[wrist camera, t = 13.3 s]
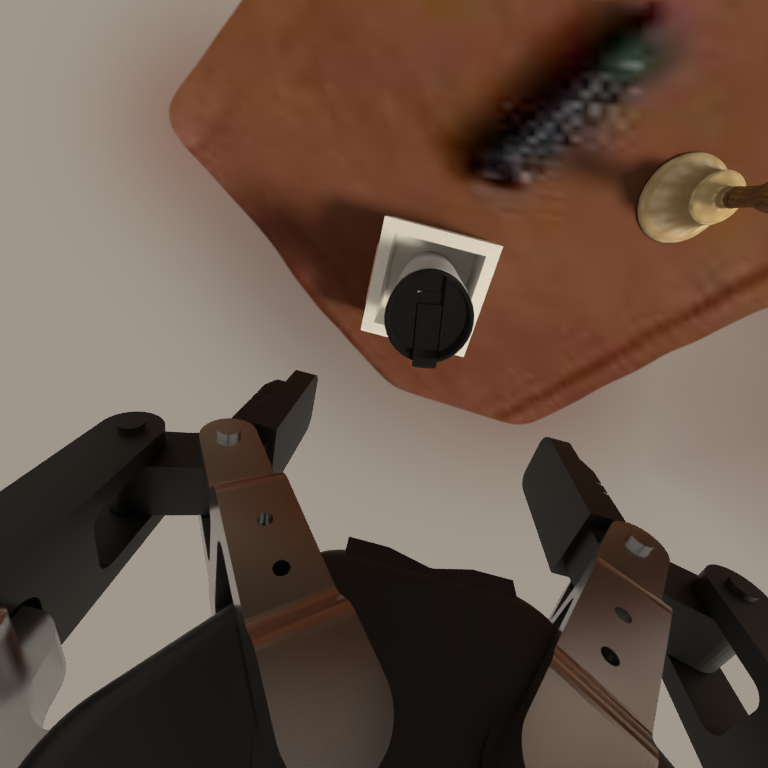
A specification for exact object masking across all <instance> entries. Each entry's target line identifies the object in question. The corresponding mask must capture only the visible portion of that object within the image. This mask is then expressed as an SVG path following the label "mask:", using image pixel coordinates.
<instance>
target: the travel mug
mask: <svg viewBox="0 0 768 768" xmlns="http://www.w3.org/2000/svg"><path fill="white" fill-rule="evenodd" d="M473 324H474V309H473V304H472V302H471V299H470V296H469V294H468V292H467V289H466V288H465V286H464V284H463V282H462V281H461V279H460V277H459V275H458V274H457V272H456V270H455V268H454V267H453V265H452V263H451V262H450V260H449V259H448V258H447V257H445V256H444V255H442V254H440V253H438V252H433V251H426V252H422V253H419V254H417V255H415V256H414V257H413V258H411V259H410V260H409V261H408V263H407V264H406V266H405V268H404V269H403V271H402V273H401V275H400V277H399V279H398V281H397V282H396V284H395V286H394V288H393V290H392V292H391V294H390V297H389V299H388V302H387V305H386V308H385V314H384V325H385V329H386V333H387V336H388V338H389V340H390V342H391V343H392V345H393V346H394V347H395V349H396V350H397V351H399V352H400V353H401V354H402V355H404V356H405V357H407V358H409V359H411V360H413V362H412V366H414V367H419V368H436V362H439V361H443V360H445V359H448V358H450V357H451V356H453V355H454V354H456V353H457V352H458V351H459V350H460V349H461V348H462V347H463V346H464V345H465V343H466V342H467V341H468V339H469V337H470V334H471V332H472V329H473Z"/></svg>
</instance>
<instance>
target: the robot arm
mask: <svg viewBox="0 0 768 768" xmlns="http://www.w3.org/2000/svg"><path fill="white" fill-rule="evenodd" d="M317 380H318V377H317V375H313V374H309V373H305V372H302V371H298V370H296V371H295V372H294V373H293V374H292V375H291V376H290V377H289V379H288V380H287V381H286V382H285V381H281V380H275V381H273V382H270V383H267V384H265V385H264V386H263V387H262V388H261V389H260V390H259V391H258V393H256V394H255V395H254V396H253V397H252V399H251V400H249V401H248V402H247V403H246V404H245V405H244V406H243V407H242V408H241V409H240V410H239V411H238V412H237V413H236V414H235V415H234V416H233V417H232V418H227V419H219V420H215V421H212V422H210V423H208V424H206V425H205V426H204V427H203V428H202V429H201V430H200V433H181V432H165V422H164V420H163V419H162V418H161V417H159V416H157V415H154V414H152V413H146V412H127V413H122V414H117V415H114V416H112V417H109V418H107V419H105V420H103V421H102V422H100V423H99V424H97V425H96V426H95V427H93V428H92V429H90V430H89V431H87V432H86V433H84V434H83V435H81V436H80V437H79V438H77V439H76V440H74V441H73V442H71V443H70V444H68V445H67V446H66V447H64V448H63V449H61V450H60V451H58V452H57V453H55V454H54V455H53V456H51V457H50V458H48V459H47V460H45V461H44V462H42V463H41V464H39V465H38V466H37V467H35V468H34V469H32V470H31V471H29V472H28V473H26V474H25V475H23V476H22V477H21V478H19V479H18V480H16V481H15V482H13V483H12V484H11V485H9V486H8V487H6V488H5V489H3V490H2V491H0V768H674V766H673V765H672V764H671V763H670V762H669V760H668V759H667V758H666V757H665V756H664V754H663V753H662V752H661V751H660V750H659V749H658V747H657V746H656V745H655V743H654V741H653V727H654V721H655V715H656V709H657V703H658V697H659V691H660V685H661V679H663V682H664V684H665V686H666V688H667V690H668V692H669V695H670V697H671V699H672V701H673V703H674V706H675V708H676V710H677V712H678V714H679V717H680V719H681V721H682V723H683V725H684V727H685V730H686V732H687V734H688V736H689V738H690V741H691V743H692V745H693V747H694V749H695V751H696V754H697V756H698V758H699V760H700V762H701V765H702V767H703V768H768V597H767V596H766V595H765V594H764V593H763V592H762V591H761V590H759V589H758V588H757V587H756V586H755V585H753V584H752V583H751V582H749V581H748V580H747V579H745V578H744V577H742V576H741V575H739V574H737V573H735V572H734V571H732V570H729V569H727V568H725V567H722V566H719V565H708V566H707V567H706V568H705V569H704V570H703V571H702V572H701V573H700V574H699V575H696V574H694V573H692V572H690V571H688V570H686V569H684V568H681V567H679V566H677V565H675V564H673V563H671V562H670V558H669V555H668V553H667V552H666V550H665V548H664V547H663V546H662V545H661V544H660V543H659V542H658V541H657V540H656V539H655V538H654V537H653V536H651V535H650V534H649V533H647V532H646V531H644V530H643V529H641V528H639V527H637V526H635V525H632V524H630V523H627V522H625V520H624V518H623V517H622V515H621V514H620V512H619V511H618V509H617V508H616V506H615V504H614V503H613V501H612V500H611V498H610V497H609V495H607V492H606V490H605V489H604V487H603V486H601V483H600V481H599V479H598V478H597V476H596V475H595V473H594V472H593V471H592V470H591V469H590V468H589V467H588V466H587V465H586V464H584V463H583V462H582V461H581V460H580V459H579V457H578V456H577V454H576V452H575V451H574V449H573V448H572V446H571V445H570V443H568V442H564V441H560V440H557V439H553V438H549V437H545V438H543V440H542V441H541V442H540V444H539V446H538V448H537V450H536V452H535V453H534V455H533V457H532V459H531V461H530V463H529V465H528V467H527V469H526V471H525V473H524V476H523V484H522V485H523V491H524V494H525V496H526V500H527V503H528V506H529V509H530V511H531V514H532V517H533V520H534V523H535V526H536V529H537V532H538V535H539V538H540V541H541V544H542V547H543V550H544V552H545V556H546V558H547V561H548V564H549V567H550V570H551V572H552V573H556V574H559V575H564V576H567V577H569V578H570V580H571V581H570V583H569V584H568V585H567V587H566V588H565V590H564V592H563V593H562V595H561V597H560V599H559V601H558V603H557V604H556V606H555V608H554V610H553V612H552V614H551V615H550V617H549V619H547V618H546V617H545V616H544V615H543V614H542V613H541V612H539V611H538V610H537V609H535V608H534V607H533V606H531V605H530V604H528V603H527V602H525V601H524V600H522V599H520V598H518V597H517V596H516V592H515V587H514V583H513V580H509V579H505V578H501V577H498V576H494V575H490V574H487V573H483V572H479V571H476V570H463V569H432V568H429V567H427V566H425V565H423V564H421V563H419V562H417V561H415V560H413V559H411V558H409V557H407V556H405V555H403V554H401V553H399V552H397V551H395V550H393V549H391V548H389V547H386V546H382V545H378V544H375V543H371V542H367V541H363V540H359V539H356V538H352V537H349V539H348V544H347V547H346V550H329V551H324V552H320V550H319V548H318V546H317V544H316V541H315V539H314V537H313V535H312V532H311V530H310V528H309V525H308V523H307V521H306V519H305V516H304V514H303V512H302V510H301V507H300V505H299V503H298V501H297V498H296V496H295V494H294V492H293V489H292V487H291V485H290V483H289V480H288V478H287V476H286V475H285V474H284V473H283V471H284V469H285V467H286V465H287V464H288V462H289V460H290V459H291V457H292V455H293V453H294V452H295V450H296V448H297V446H298V445H299V443H300V441H301V440H302V437H303V436H304V434H305V433H306V431H307V429H308V426H309V423H310V420H311V416H312V410H313V405H314V399H315V393H316V387H317ZM165 515H199V522H200V528H201V533H202V540H203V547H204V553H205V558H206V565H207V571H208V581H209V597H210V607H211V614H212V617H210V618H209V619H207V620H206V621H204V622H203V623H201V624H200V625H198V626H197V627H195V628H193V629H192V630H190V631H189V632H187V633H186V634H184V635H183V636H181V637H180V638H178V639H177V640H175V641H174V642H172V643H170V644H169V645H167V646H166V647H164V648H163V649H161V650H160V651H158V652H157V653H155V654H154V655H152V656H150V657H149V658H147V659H146V660H144V661H143V662H141V663H140V664H138V665H137V666H135V667H134V668H132V669H131V670H129V671H127V672H126V673H125V674H123V675H122V676H120V677H118V678H117V679H115V680H114V681H112V682H110V683H109V684H107V685H106V686H105V687H103V688H101V689H100V690H98V691H97V692H95V693H94V694H92V695H91V696H90V697H88V698H86V699H85V700H84V701H82V702H81V703H80V704H78V705H77V706H76V707H75V708H73V709H72V710H71V711H70V712H69V713H67V714H66V715H65V716H64V717H63V718H62V719H61V720H60V721H59V722H58V723H57V724H56V725H55V726H53V727H52V728H51V730H49V731H48V730H45V729H43V728H42V727H43V723H44V720H45V716H46V714H47V711H48V709H49V707H50V705H51V703H52V702H53V700H54V698H55V696H56V695H57V693H58V691H59V689H60V688H61V685H62V683H63V680H64V677H65V673H66V661H65V657H64V653H63V650H62V646H61V645H62V644H63V642H64V641H65V640H66V639H67V637H68V636H69V635H70V634H71V632H72V631H73V630H74V628H75V627H76V626H77V625H78V624H79V622H80V621H81V620H82V619H83V617H84V616H85V615H86V614H87V612H88V611H89V609H90V608H91V607H92V606H93V605H94V603H95V602H96V601H97V600H98V598H99V597H100V596H101V595H102V593H103V592H104V591H105V590H106V588H107V587H108V586H109V585H110V583H111V582H112V581H113V580H114V578H115V577H116V576H117V575H118V573H119V572H120V571H121V569H122V568H123V567H124V566H125V564H126V563H127V562H128V561H129V560H130V558H131V557H132V556H133V554H134V553H135V552H136V551H137V549H138V548H139V547H140V546H141V544H142V543H143V542H144V541H145V539H146V538H147V537H148V536H149V534H150V533H151V532H152V531H153V529H154V528H155V527H156V526H157V524H158V523H159V522H160V521H161V519H162V518H163V517H164V516H165ZM735 654H736V655H737V656H738V658H739V659H740V661H741V662H742V664H743V665H744V667H745V669H746V670H747V671H748V673H749V675H750V676H751V678H752V679H753V681H754V682H755V684H756V686H757V689H758V692H759V700H760V702H759V706H758V708H757V710H756V711H755V712H753V713H752V714H750V715H748V714H747V712H746V710H745V709H744V707H743V705H742V704H741V702H740V700H739V699H738V697H737V695H736V694H735V692H734V690H733V689H732V687H731V685H730V684H729V682H728V680H727V679H726V677H725V675H724V674H723V672H722V670H721V669H720V667H721V666H722V665H723V664H724V663H726V662H727V661H728V660H729V659H731V658H732V657H733V656H734V655H735Z"/></svg>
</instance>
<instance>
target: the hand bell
mask: <svg viewBox="0 0 768 768" xmlns="http://www.w3.org/2000/svg"><path fill="white" fill-rule="evenodd" d="M744 207H752V208H755V209H757V210H759V211H761V212H764V213H768V182H767V183H765V184H763V185H759V186H746V183H745V180H744V178H743V177H742V175H740V174H739V173H738V172H736V171H734V170H727V168H726V166H725V165H724V163H723V162H722V161H721V160H720V159H718V158H717V157H715V156H713V155H711V154H708V153H703V152H692V153H687V154H683V155H681V156H678V157H676V158H673V159H672V160H670V161H668V162H667V163H665V164H664V165H663V166H661V167H660V168H659V169H658V170H657V171H656V172H655V173H654V174H653V175H652V176H651V178H650V179H649V181H648V182H647V183H646V185H645V187H644V189H643V191H642V193H641V195H640V199H639V203H638V210H637V213H638V221H639V224H640V226H641V228H642V230H643V232H644V233H645V234H646V235H647V236H649V237H650V238H652V239H654V240H656V241H659V242H663V243H675V242H680V241H684V240H687V239H689V238H691V237H693V236H695V235H697V234H699V233H700V232H702V231H703V230H705V229H706V228H707V227H708V226H709V225H711V224H715V223H718V222H721V221H723V220H725V219H726V218H728V217H729V216H731V215H732V214H733V213H734V212H735V211H736V210H737V209H738V208H744Z"/></svg>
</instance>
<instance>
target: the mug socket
mask: <svg viewBox="0 0 768 768" xmlns="http://www.w3.org/2000/svg"><path fill="white" fill-rule="evenodd" d="M502 248H503V246H501V245H498V244H496V243H493V242H490V241H487V240H483V239H479V238H475V237H471V236H468V235H464V234H460V233H456V232H452V231H448V230H445V229H441V228H437V227H433V226H429V225H425V224H422V223H418V222H414V221H410V220H406V219H402V218H399V217H395V216H385V218H384V222H383V227H382V232H381V236H380V241H379V243H378V244H377V249H376V254H375V258H374V263H373V268H372V273H371V277H370V282H369V287H368V292H367V296H366V301H365V302H366V307H365V312H364V316H363V321H362V326H361V330H362V331H366V332H370V333H374V334H377V335H381V336H385V337H388V336H387V333H386V329H385V325H384V314H385V308H386V305H387V302H388V299H389V297H390V294H391V292H392V290H393V288H394V286H395V284H396V282H397V281H398V279H399V277H400V275H401V273H402V271H403V269H404V268H405V266H406V264H407V263H408V261H409V260H410V259H411V258H413V257H414V256H415V255H417V254H419V253H422V252H426V251H433V252H438V253H440V254H442V255H444V256H445V257H447V258H448V259H449V260H450V262H451V263H452V265H453V267H454V268H455V270H456V272H457V274H458V275H459V277H460V279H461V281H462V282H463V284H464V286H465V288H466V289H467V292H468V294H469V296H470V299H471V302H472V304H473V309H474V324H473V329H472V332H473V330H474V327H475V324H476V321H477V318H478V316H479V313H480V310H481V307H482V304H483V302H484V299H485V296H486V293H487V290H488V288H489V285H490V282H491V279H492V276H493V274H494V271H495V268H496V265H497V262H498V260H499V257H500V254H501V251H502ZM472 332H471V334H470V337H469V339H468V341H467V342H466V343H465V345H464V346H463V347H462V348H461V349H460V350H459V351H458V352H457V353H456V354H454V355H457V356H461V357H464V355H465V352H466V349H467V346H468V344H469V341H470V338H471V335H472Z"/></svg>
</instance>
